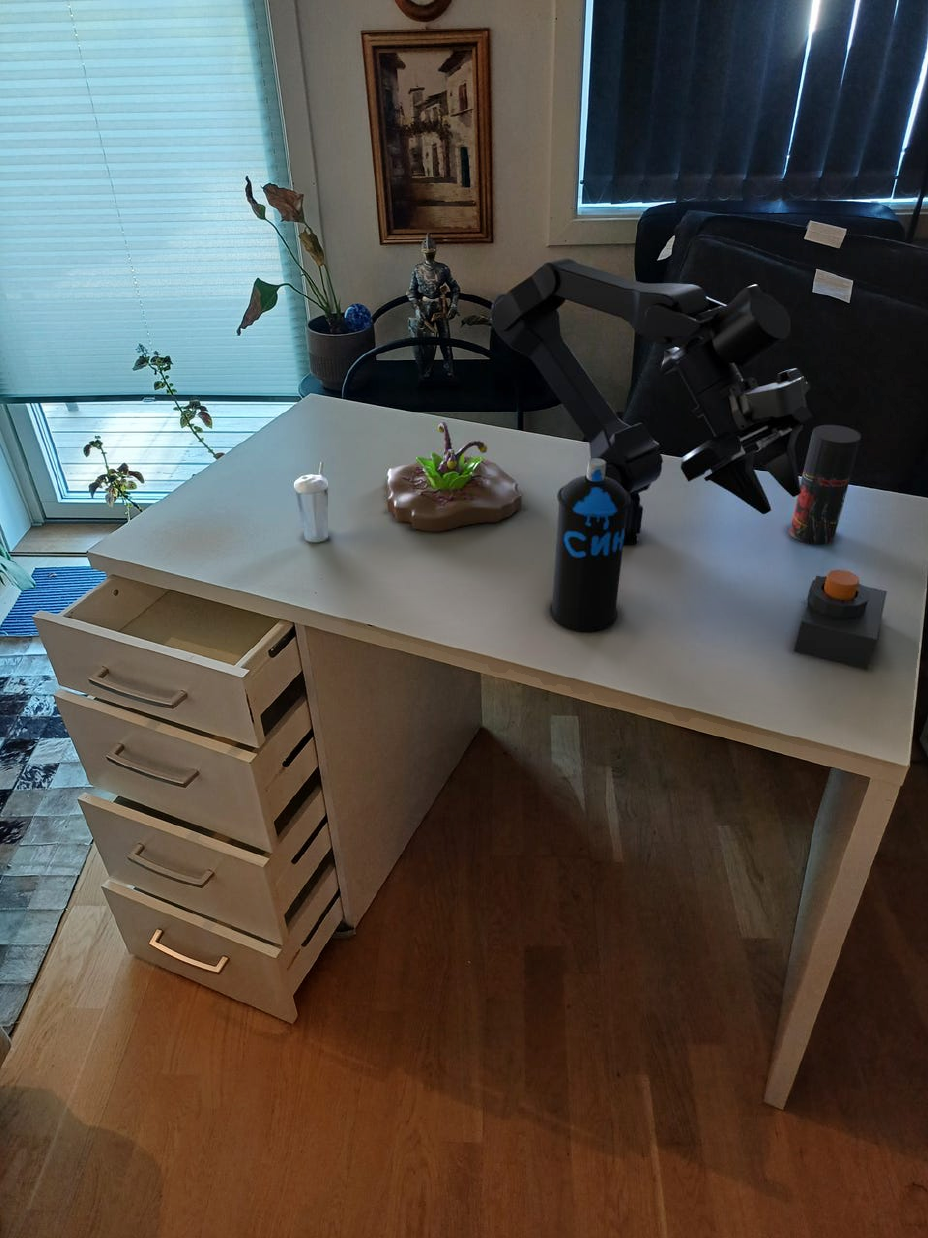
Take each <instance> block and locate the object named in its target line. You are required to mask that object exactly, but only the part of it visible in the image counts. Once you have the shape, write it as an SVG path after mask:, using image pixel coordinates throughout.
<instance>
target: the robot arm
mask: <svg viewBox="0 0 928 1238" xmlns="http://www.w3.org/2000/svg"><path fill="white" fill-rule="evenodd" d="M566 300H567V301H570V302H573V303H575V304H578V305H581V306H584V307H587V308H590V309H594V310H597V311H599V312H602V313H605V314H608V315H611V316H613V317H614V316H615V317H617V318H620V319H622V320H624V321H625V322H627V323H629V325H630V326H631V328H632V329H633V330H634V332H635V333H637V334H638V335H640V336H643V337H644V338H645V339H647V340H649V341H650V342H653V343H655V344H657V345H660V346H661V345H662V346H664V345H669V344H672V343H675V342H678V341H681V340H683V339H687V338H690V337H693V336H696V335H699V334H702V333H704V332H707V331H708V333H709V334H708V335H707V336H706V337H700V336H696V337H693V338H691V339H689V340H688V341H686V343H684V344H683V346H680V347H677V346H674V347H672V348H669V349H665V351H664V354H663V355H664V357H663V361H662V363H661V367H660V371H659V372H660V374H661V375H663V376H664V375H667V374H670V373H672V372H676V371H678V373H679V375H680V376H681V378H682V380H683V383H684V384H685V385H686V387H687V389H688V391H689V392H690V394H691V397H692V398H693V400H694V401H695V403H696V405H697V407H696V408H694V409H693V410H692V411H691V412H692V414H693V416H694V418H695V419H698V418H701V417H704V419H705V422H706V423H707V425H708V427H709V428H710V430H711V432H712V434H713V435H714V437H713V438H712V437H711V438H710V439H708V440H707V441H704V443H702V444H700V445H699V446H698V447H696V448H694V449H693V450H691V451H690V452H688V453H687V454H685V455H684V456H681V463H680V470H681V471H682V473H683V475H684V477H685V480H686V481H687V482H688V483H689V482H691V481H694V480H695V479H697V478H699V477H701V476H703V475H705V474H706V472H708V471H710V473H709V474H708V475H706V476H705V477H703V480H704V481H705V482H708V481H711V483H713V484H715V485H717V486H719V487H721V488H722V489H724V490H726V491H727V492H729V493H731V494H732V495H733V496H735V497H737V498H738V499H740V500H741V501H743V502H744V503H746V504H747V505H749V506H750V507H751V508H753V509H755V511H757V512H759V513H760V514H762V515H766V514H769V512H771V511H772V508H771V505H770V504H771V503H770V502H769V498H768V497H767V494H766V493H765V490H764V488H763V486H762V484H761V482H760V480H759V477H758V476H757V473H756V471H755V468H754V460H755V459H756V461H758V462H759V463H760V465H762V467H763V468H764V469H765V470H766V471H767V472H768V473H769V474H770V475H771V476H772V477H773V479H774V480H775V481H776V482H777V483H778V484H779V485H780V487H782V489H784V491H785V492H787V493H788V495H790V496H791V497H792V498H795V497H798V495H799V494H801V488H800V484H801V481H800V477H799V472H798V466H797V461H796V454H795V453H796V452H795V444H796V441H797V439H798V436H799V434H800V432H801V431H803V425H801V424H802V423H804V422H805V421H807V420H809V419H810V418H812V417H813V416H812V414H811V411H810V410H809V408H808V407H807V403H806V402H807V401H806V397H805V395H807V392H808V391H809V390H810V389H811V384H810V383H809V382H807V380H806V378H805V376H804V375H803V373H802V372H801V371H800V370H799V368H798V367H795V368H791V369H786V370H784V371H781V372H779V373H778V374H777V377H776V381H775V382H772V383H769V384H766V385H762V386H761V385H759V384H758V382H757V381H756V379H755V378H752V376H748V377H746V378H743V376H742V375H741V373H740V371H739V370H738V368H737V366H739V367H745V366H748V365H749V364H750V363H752V362H754V361H755V360H756V359H757V358H758V359H759V357H761V356H762V355H764V354H765V353H766V352H768V351H769V350H770V349H772V348H773V347H775V346H776V345H778V344H779V343H781V342H782V341H783V340H785V339H786V338H787V337H789V335H790V333H791V328H792V327H791V320H790V317H789V314H788V312H787V309H785V307H784V305H783V304H780V303H779V302H778V301H777V300H776V299H774V297H772V296H771V295H770V294H767V293H765V292H762V289H761V288H760V285H758V284H752V285H749V286H746V287H745V288H743V289H742V290H741V291H740V292H739V293H737V295H736V296H735V297H734V299H732V300H731V301H730V302H729V303H727V304H725V303H723V302H721V301H718V300H716V299H713V298H710V297H708V296H707V295H706V291H705V290H704V289H703V288H702V287H700V286H699V285H696V284H689V283H675V282H665V283H664V282H662V283H646V282H642V281H637V280H634V279H632V278H627V277H624V276H621V275H618V274H616V273H615V274H614V273H611V272H608V271H605V270H602V269H598V268H594V267H591V266H588V265H584V264H582V263H579V262H577V261H575V260H574V259H571V258H566V257H565V258H561V259H556V260H552V261H548V262H545V263H543V264H541V266H539V268H537V269H536V270H535V272H533V273H532V274H531V275H530V276H528V277H526V278H525V280H523V281H521V282H520V283H518V284H517V285H515V286H514V287H513V288H511V289H510V290H508V291H507V292H505V293H502V294H498V295H497V296H496V297H495V298H494V300H493V302H492V305H491V310H490V323H491V326H492V328H493V330H494V331H495V333H496V334H497V335H498V336H499V337H500V339H502V340H503V342H505V344H507V346H508V347H509V348H511V349H512V350H514V351H516V352H518V353H519V354H522V355H524V356H525V357H527V358H529V359H530V360H531V361H532V363H534V365H535V367H536V368H537V369H538V371H539V372H540V374H541V375H542V377H543V378H544V380H545V381H546V382H547V384H548V385H549V387H550V388H551V390H552V391H553V392H554V394H555V395H556V397H557V399H558V400H559V401H560V403H561V404H562V405H563V407H564V409H565V410H566V411H567V413H568V414H569V416H570V417H571V418H572V420H573V422H574V423H575V424H576V426H577V427H578V429H579V430H580V431H581V433H582V434H583V436H584V437H585V439H586V440H587V442H588V444H589V453H590V459H594V458H598V459H602V460H604V461H605V462H606V468H605V477H608V478H610V479H613V480H615V481H616V482H618V483H619V484H620V485H621V486H622V487H623V488H624V490H626V491H627V492H628V494H629V495H630V498H631V503H630V505H629V506H628V508H627V517H626V525H625V534H624V543H623V545H637V544H639V537H638V535H640V534H641V529H642V521H643V512H644V506H643V504H642V500H641V497H640V493H641V492H642V493H643V492H644V491H647V490H649V489H650V487H651V485H652V483H654V482H655V481H657V480H658V479H659V478H660V476H661V473H662V470H663V462H664V460H663V456H662V454H661V452H660V450H659V449H658V448H660V447H661V445H660V443H658V442H657V441H655V440H654V439H653V437H652V435H651V434H650V432H649V430H648V428H647V427H646V426H645V425H644V424H643V423H642V422H637V423H636V424H634V425H631V426H630V425H629V424H627V423H625V422H623V421H622V420H621V419H620V418H619V417H618V415H617V414H616V413H615V411H614V409H613V408H612V407H611V405H610V403H609V402H608V401H607V400H606V398H605V397H604V395H603V394H602V392H601V391H600V389H599V388H598V387H597V385H596V383H595V382H594V381H593V379H592V378H591V377H590V375H589V373H588V372H587V370H585V368H584V366H583V365H582V364H581V362H580V361H579V360H578V358H577V356H576V355H575V354H574V353H573V350H571V347H570V346H569V345H568V344H567V343H566V341H565V339H564V338H563V336H562V330H561V317H560V313H559V312H558V309H559V308H561V306H563V305H564V304H565V302H566ZM797 426H798V427H797ZM754 444H756V445H757V447H758V450H756V449H755V448H753V449H752V450H750V451H748V452H746V451H745V448H747V447H749V446H752V445H754Z"/></svg>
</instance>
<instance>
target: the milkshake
mask: <svg viewBox="0 0 928 1238" xmlns="http://www.w3.org/2000/svg"><path fill="white" fill-rule="evenodd" d="M323 470H324V462H320V464H319V471H318V474H306V475H301V476H300V477H299V478H297V479H296V480H295V481H294V483H293V488H294V493H295V497H296V500H297V505H298V509H299V513H300V519H301V525H302V529H303V534H304V535H303V536H304V540H305V541H307V542H309V543H315V544H316V543H317V544H318V543H323V542H325V541H326V540H327V539H329V481H328V480H327V479H326V477H324V476H323V472H324V471H323Z"/></svg>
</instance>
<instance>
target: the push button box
mask: <svg viewBox="0 0 928 1238" xmlns="http://www.w3.org/2000/svg"><path fill="white" fill-rule="evenodd" d="M826 579H827V575H822V576H821V575H815V579H812V581H811V583H810V586H809V590H808V593H807V597H806V601H807V602H806V606H805V609H804V612H803V615H802V618H801V620H800V625H799V628H798V632H797V635H796V640H795V644H794V648H793V652H797V653H799V654H804V655H808V656H812V657H816V658H820V659H823V660H827V661H831V662H835V663H839V664H843V665H847V666H850V667H854V668H858V669H862V670H867V671H868V670H869V666H870V664H871V660H872V656H873V654H874V650H875V648H876V645H877V641H878V637H879V631H880V627H881V622H882V618H883V613H884V607H885V602H886V599H887V598H886V597H887V592H888V591H887V590H884V589H879V588H876V587H875V588H874V587H870V586H866V585H863V584H861V583H859V584H858V587H857V590H856V594H855V597H854V598H853V599H852V600H840V599H835V598H832V597H830V596H828V595H826V594H825V593H824V586H825V582H826Z"/></svg>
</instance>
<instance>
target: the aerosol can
mask: <svg viewBox="0 0 928 1238" xmlns="http://www.w3.org/2000/svg"><path fill="white" fill-rule="evenodd" d="M605 468H606V462H605V461H604V460H602V459H598V458H594V459H591V458H590V459H589V460H587V469H586V475H581V476H578V477H575V478H573V479H571V480H570V481H569V482H568V483H566V484H565V485H564V486H562V487H560V488H559V490H558V491H557V494H556V499H557V501H558V509H557V510H558V511H557V525H556V541H555V554H554V569H553V572H554V573H553V584H552V585H553V586H552V597H551V604H550V606H549V615H550V617H551V619H552V620H553V621H554V622H555V623H556V624H558V625H559V626H561V627H563V628H565V629H567V630H571V631H574V632H580V633H591V632H592V633H593V632H598V631H602V630H605V629H607V628H609V627H611V626H612V625H613V624H614V623H615V622H616V620H617V618H618V609H617V602H618V593H619V585H620V576H621V568H622V561H623V551H624V544H623V543H624V534H625V525H626V517H627V508H628V506H629V505H630V503H631V498H630V495H629V494H628V492H627V491H626V490H624V488H623V487H622V486H621V485H620V484H619V483H618V482H616V481H615V480H613V479H610V478H608V477H605Z"/></svg>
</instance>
